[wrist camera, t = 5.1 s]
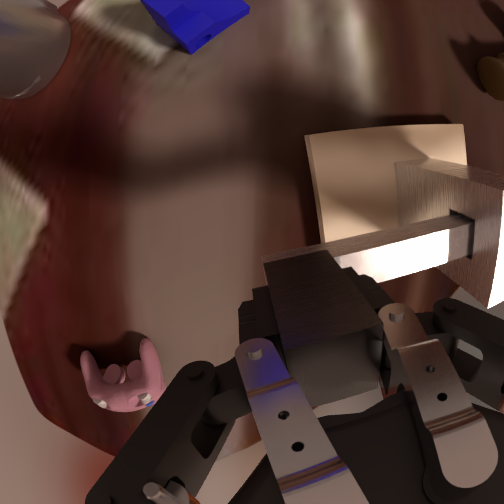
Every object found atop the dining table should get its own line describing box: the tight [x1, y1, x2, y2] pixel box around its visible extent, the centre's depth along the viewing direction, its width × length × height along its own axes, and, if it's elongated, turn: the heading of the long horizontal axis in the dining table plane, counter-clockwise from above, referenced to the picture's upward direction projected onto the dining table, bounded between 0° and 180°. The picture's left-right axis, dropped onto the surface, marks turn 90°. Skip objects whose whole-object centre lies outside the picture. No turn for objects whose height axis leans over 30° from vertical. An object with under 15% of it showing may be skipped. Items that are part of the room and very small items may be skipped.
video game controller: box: [80, 338, 166, 412], centre depth 26 cm, size 10×5×7 cm, turn 107°
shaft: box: [261, 213, 475, 407], centre depth 12 cm, size 3×18×8 cm, turn 102°
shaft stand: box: [304, 124, 504, 308], centre depth 18 cm, size 13×16×14 cm
